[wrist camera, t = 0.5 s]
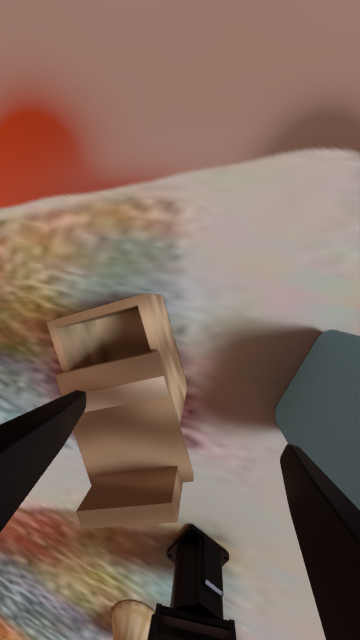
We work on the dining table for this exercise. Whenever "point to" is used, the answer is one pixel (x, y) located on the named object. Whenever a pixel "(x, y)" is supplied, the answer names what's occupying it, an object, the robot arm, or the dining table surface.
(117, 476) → the box lid
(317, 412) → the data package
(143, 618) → the hand bell
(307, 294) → the dining table surface
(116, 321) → the brown wooden open box
